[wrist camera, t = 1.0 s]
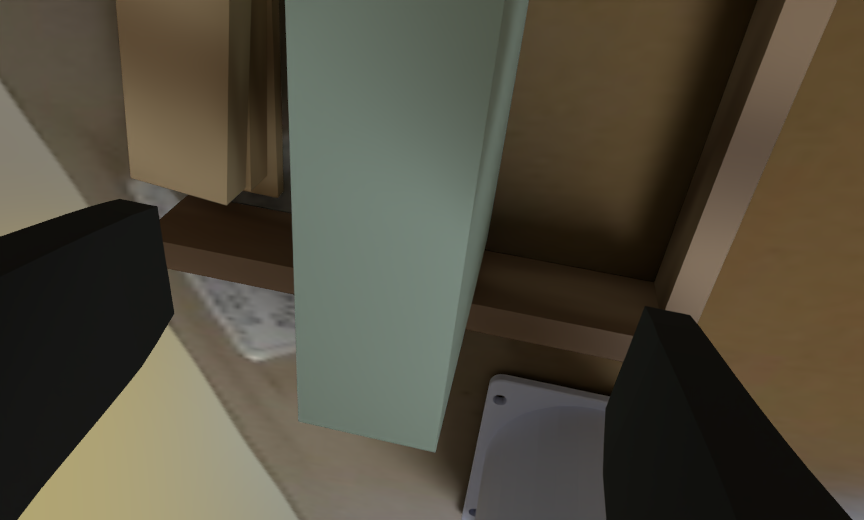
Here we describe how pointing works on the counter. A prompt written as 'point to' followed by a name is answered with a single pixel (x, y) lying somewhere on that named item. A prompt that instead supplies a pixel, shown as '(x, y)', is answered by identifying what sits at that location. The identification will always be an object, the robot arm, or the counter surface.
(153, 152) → the offcut top
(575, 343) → the walnut rack
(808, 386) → the counter surface
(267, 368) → the counter surface
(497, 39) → the sage panel
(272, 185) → the offcut bottom
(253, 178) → the offcut middle
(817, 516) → the robot arm
